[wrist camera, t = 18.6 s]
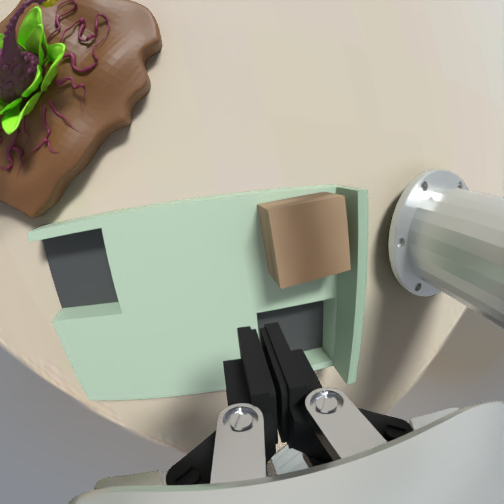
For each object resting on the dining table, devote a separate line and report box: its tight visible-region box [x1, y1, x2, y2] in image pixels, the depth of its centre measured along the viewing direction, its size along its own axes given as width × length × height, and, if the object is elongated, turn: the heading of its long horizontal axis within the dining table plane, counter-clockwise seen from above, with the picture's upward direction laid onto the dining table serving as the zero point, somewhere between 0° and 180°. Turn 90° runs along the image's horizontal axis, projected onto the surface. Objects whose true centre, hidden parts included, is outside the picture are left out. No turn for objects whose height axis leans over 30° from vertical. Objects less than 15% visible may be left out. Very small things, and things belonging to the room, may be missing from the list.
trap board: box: [27, 184, 368, 400], centre depth 21 cm, size 24×16×6 cm, turn 95°
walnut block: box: [257, 192, 351, 289], centre depth 19 cm, size 5×5×3 cm
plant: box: [0, 0, 162, 218], centre depth 11 cm, size 20×20×11 cm
